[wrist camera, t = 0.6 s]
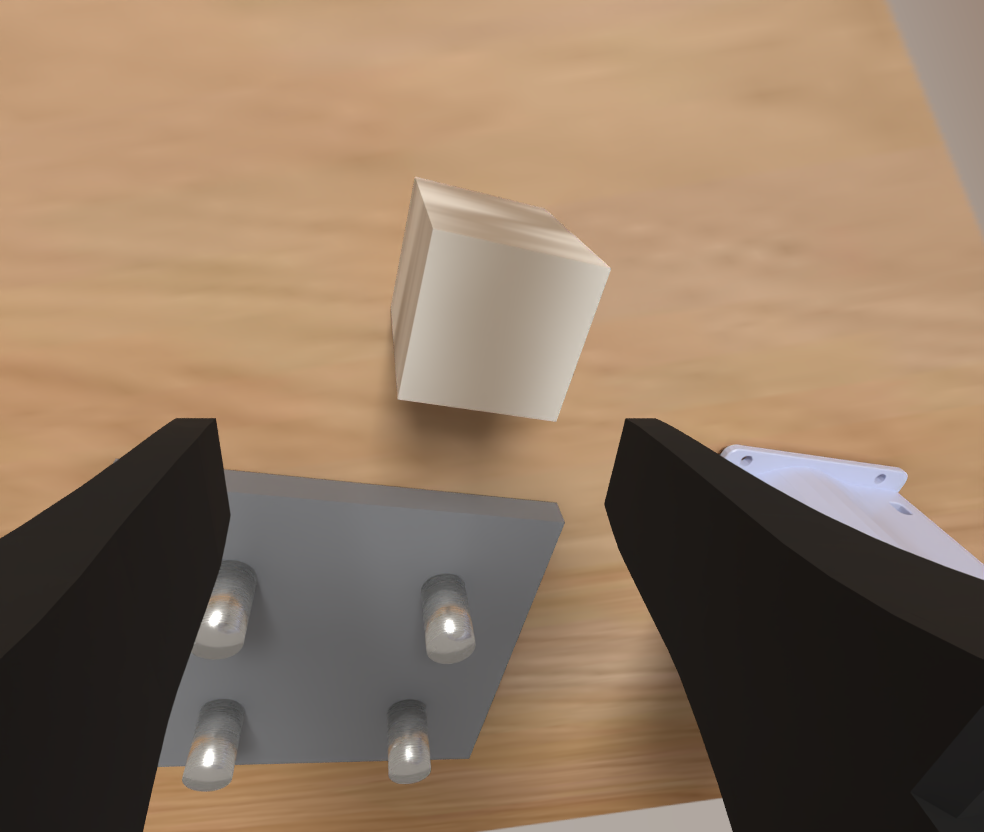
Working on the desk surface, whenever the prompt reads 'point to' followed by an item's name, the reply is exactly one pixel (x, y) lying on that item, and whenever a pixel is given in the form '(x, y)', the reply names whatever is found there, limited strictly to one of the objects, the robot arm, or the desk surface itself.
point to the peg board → (355, 626)
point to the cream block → (490, 303)
